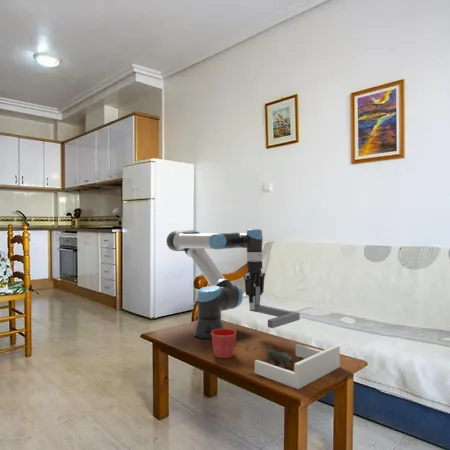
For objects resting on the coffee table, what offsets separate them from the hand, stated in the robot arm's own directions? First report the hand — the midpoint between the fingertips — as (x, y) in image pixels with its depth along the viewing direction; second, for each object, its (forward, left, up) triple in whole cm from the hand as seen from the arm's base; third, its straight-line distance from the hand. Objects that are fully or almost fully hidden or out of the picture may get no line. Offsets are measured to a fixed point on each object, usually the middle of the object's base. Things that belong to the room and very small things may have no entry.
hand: (254, 308), depth 182 cm
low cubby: (+40, -21, -14) cm, 47 cm away
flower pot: (+8, -29, -14) cm, 33 cm away
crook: (+12, -8, -1) cm, 14 cm away
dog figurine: (+33, -23, -14) cm, 43 cm away
